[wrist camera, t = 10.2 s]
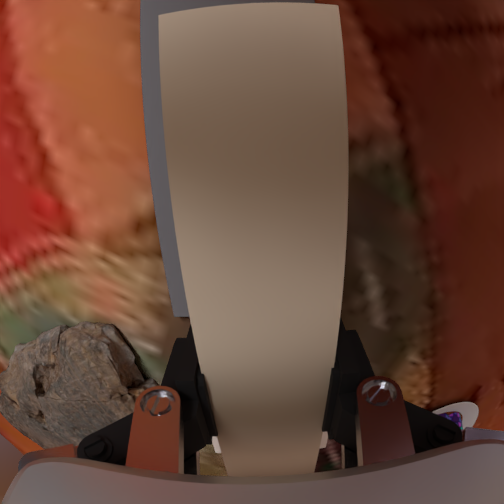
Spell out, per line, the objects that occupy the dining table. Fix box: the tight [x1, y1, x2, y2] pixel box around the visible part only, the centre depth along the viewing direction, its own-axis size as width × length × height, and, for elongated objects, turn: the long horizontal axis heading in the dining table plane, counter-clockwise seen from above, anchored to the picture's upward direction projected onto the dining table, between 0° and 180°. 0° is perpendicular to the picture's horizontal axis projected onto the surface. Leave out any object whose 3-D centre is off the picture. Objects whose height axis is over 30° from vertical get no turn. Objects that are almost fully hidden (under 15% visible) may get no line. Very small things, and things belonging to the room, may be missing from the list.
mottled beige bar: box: [158, 2, 348, 477], centre depth 11 cm, size 20×4×5 cm, turn 3°
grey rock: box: [0, 322, 159, 449], centre depth 19 cm, size 14×5×20 cm
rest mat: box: [140, 0, 315, 317], centre depth 13 cm, size 22×8×1 cm, turn 3°
